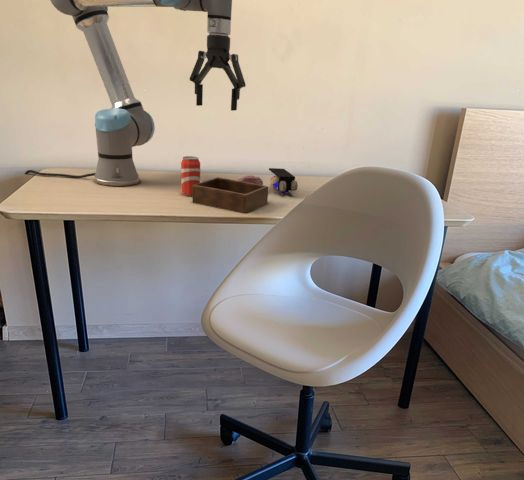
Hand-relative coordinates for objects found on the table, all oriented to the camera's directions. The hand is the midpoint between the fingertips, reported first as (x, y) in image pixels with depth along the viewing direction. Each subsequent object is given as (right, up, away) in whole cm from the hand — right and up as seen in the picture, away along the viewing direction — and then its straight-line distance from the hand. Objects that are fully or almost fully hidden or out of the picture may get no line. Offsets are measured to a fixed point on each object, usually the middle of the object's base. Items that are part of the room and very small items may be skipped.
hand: (216, 108), depth 174 cm
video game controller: (+11, -26, +10) cm, 30 cm away
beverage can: (-9, -30, 0) cm, 31 cm away
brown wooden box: (+5, -34, -6) cm, 35 cm away
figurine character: (+23, -25, +12) cm, 36 cm away
